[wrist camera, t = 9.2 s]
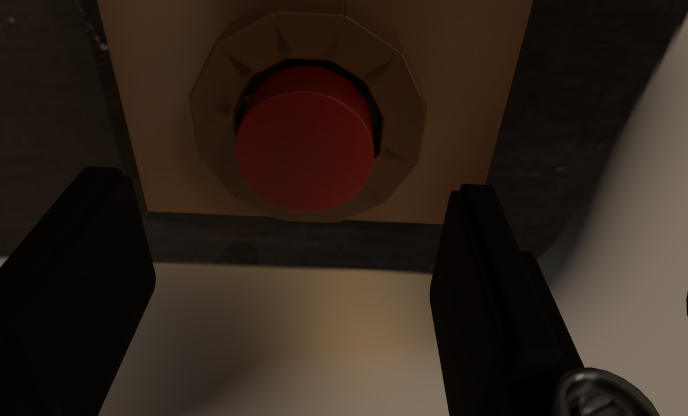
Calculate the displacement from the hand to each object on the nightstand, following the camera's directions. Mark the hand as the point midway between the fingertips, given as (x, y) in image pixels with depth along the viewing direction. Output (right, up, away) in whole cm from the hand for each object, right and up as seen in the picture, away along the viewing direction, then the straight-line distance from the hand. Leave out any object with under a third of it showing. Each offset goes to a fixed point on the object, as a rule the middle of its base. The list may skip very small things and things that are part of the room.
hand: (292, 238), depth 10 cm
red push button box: (0, +5, +7) cm, 9 cm away
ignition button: (0, +3, +4) cm, 5 cm away
